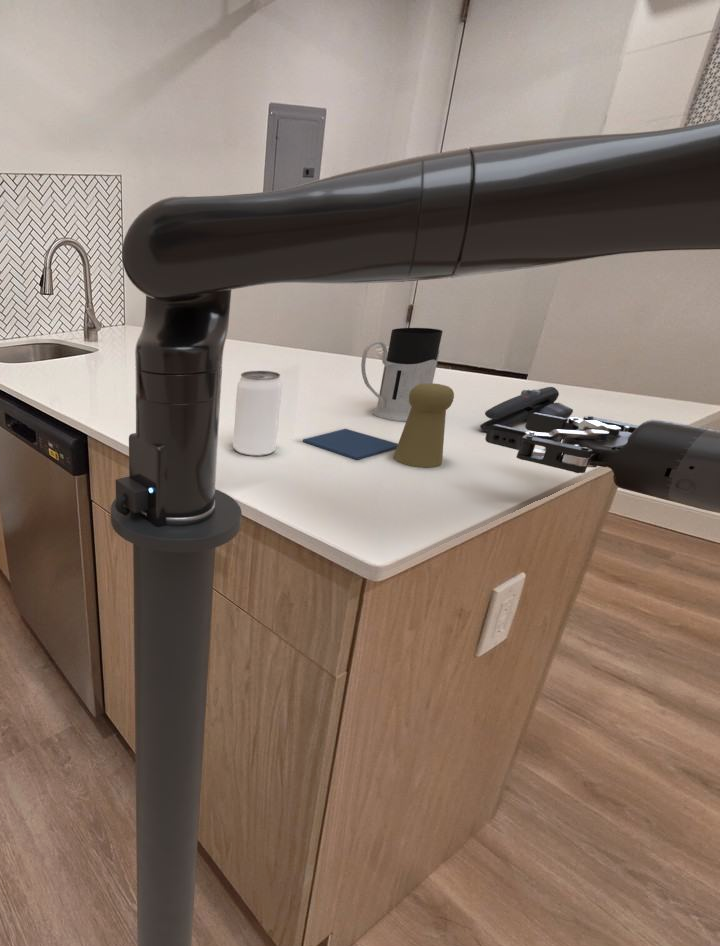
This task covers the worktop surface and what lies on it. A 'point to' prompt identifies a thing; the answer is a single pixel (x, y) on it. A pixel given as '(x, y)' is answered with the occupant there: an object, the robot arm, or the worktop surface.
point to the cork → (425, 426)
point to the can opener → (526, 407)
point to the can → (257, 413)
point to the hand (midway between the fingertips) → (508, 426)
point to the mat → (351, 443)
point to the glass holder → (404, 369)
